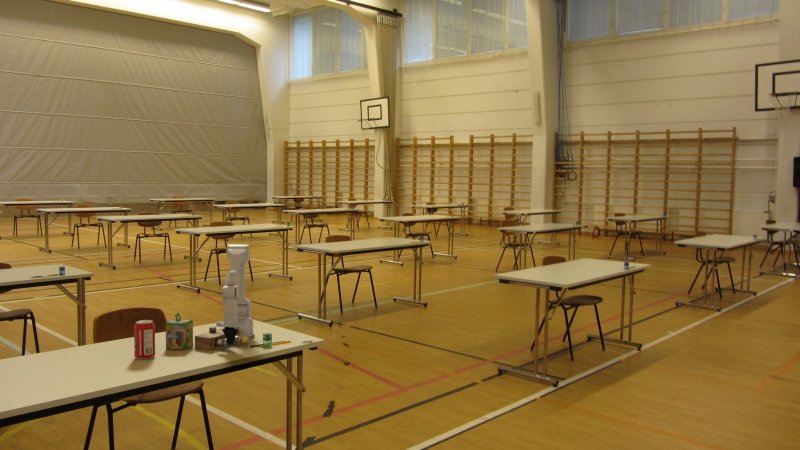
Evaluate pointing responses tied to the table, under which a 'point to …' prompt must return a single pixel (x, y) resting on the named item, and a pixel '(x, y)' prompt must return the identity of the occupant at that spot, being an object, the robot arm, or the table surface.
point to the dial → (212, 329)
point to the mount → (210, 340)
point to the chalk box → (179, 333)
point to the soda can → (144, 339)
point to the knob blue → (222, 343)
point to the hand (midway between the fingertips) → (230, 344)
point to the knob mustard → (242, 339)
